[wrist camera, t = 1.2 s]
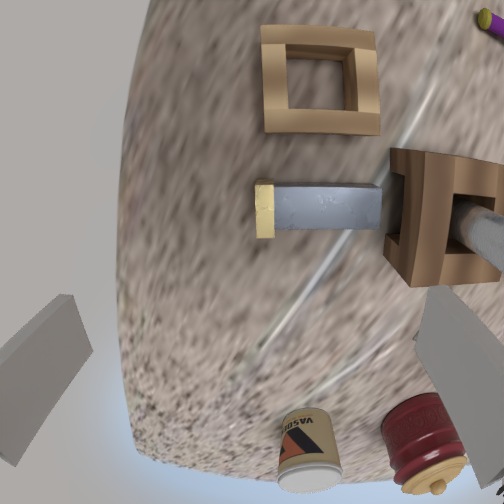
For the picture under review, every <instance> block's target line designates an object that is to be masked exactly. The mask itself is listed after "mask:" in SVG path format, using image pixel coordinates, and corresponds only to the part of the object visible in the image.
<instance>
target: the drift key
mask: <svg viewBox="0 0 504 504" xmlns="http://www.w3.org/2000/svg"><path fill="white" fill-rule="evenodd" d="M255 205H256V236H257V238H274V229H380V219H381V206H382V188H380V187H378V186H376V185H373V184H354V183H274V182H273V179H257V181H256V184H255Z"/></svg>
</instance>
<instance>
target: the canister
mask: <svg viewBox="0 0 504 504" xmlns="http://www.w3.org/2000/svg"><path fill="white" fill-rule="evenodd" d="M382 436H383V439H384V441H385V443H386V447H387V451H388V455H389V458H390V466H391V468H392V469H394V470H395V473H396V474H395V476H394V482H395V483H396V484H398V485H403V486H402V488H401V490H402V492H403V493H408V494H413V495H420V494H424V493H428V492H431V493H432V494H433V495H439V494H441V493H443V492H444V491H445V489H446V484H447V483H449V482H450V481H452V480H453V479H454V478H455V477H457V476H458V475H459V473H460V472H461V470H462V468H463V467H464V466H465V464H466V463H467V458H466V457H465V456H464V454H465V452H466V451H465V449H464V446H463V444H462V442H461V440H460V437H459V435H458V433H457V431H456V429H455V427H454V424H453V422H452V420H451V418H450V416H449V414H448V412H447V410H446V408H445V406H444V404H443V402H442V400H441V398H440V396H439V394H435V393H428V394H423V395H419V396H416V397H413V398H411V399H409V400H407V401H405V402H403V403H402V404H400V405H399V406H397V407H396V408H395V409H393V410H392V411H391V412H390V413H389V414H388V415H387V417H386V418H385V419H384V421H383V424H382Z"/></svg>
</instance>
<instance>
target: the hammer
mask: <svg viewBox="0 0 504 504" xmlns="http://www.w3.org/2000/svg"><path fill="white" fill-rule="evenodd" d="M478 23H479V25H480V27H481V28H482V29H484V30H486V29H488V30H489V31H491V32H493V33H495V34H497V35H499V36H500V37H502V38H504V19H502V18H500V17H498V16H497V15H495V14H493V13H491V12H490V10H489V9H487V8H483V9H481V10H480V12H479V15H478Z"/></svg>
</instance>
